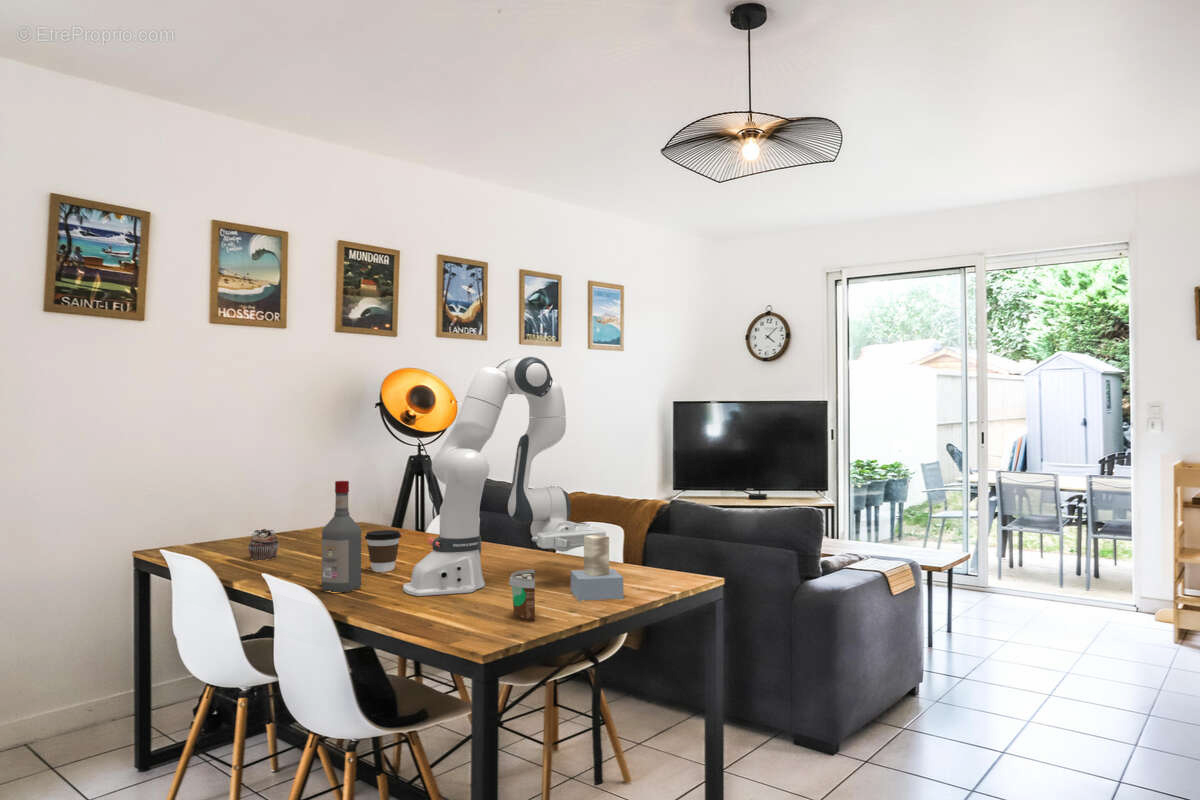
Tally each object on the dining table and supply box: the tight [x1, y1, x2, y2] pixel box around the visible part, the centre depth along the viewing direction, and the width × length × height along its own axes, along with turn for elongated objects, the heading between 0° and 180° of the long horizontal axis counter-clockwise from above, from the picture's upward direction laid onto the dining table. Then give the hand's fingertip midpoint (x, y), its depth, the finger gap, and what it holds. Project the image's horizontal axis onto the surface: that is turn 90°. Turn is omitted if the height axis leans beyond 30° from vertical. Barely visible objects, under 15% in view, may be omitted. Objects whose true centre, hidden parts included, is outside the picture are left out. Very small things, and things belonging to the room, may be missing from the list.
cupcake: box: [247, 528, 279, 560], centre depth 264 cm, size 10×10×10 cm
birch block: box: [583, 535, 610, 576], centre depth 209 cm, size 5×5×10 cm
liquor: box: [321, 480, 362, 593], centre depth 216 cm, size 9×9×30 cm
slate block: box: [570, 568, 624, 602], centre depth 209 cm, size 12×12×6 cm
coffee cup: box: [364, 529, 402, 572], centre depth 242 cm, size 11×11×12 cm
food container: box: [508, 569, 536, 622], centre depth 187 cm, size 12×6×10 cm, turn 5°
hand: (583, 542), depth 215 cm, fingers open, 8 cm apart
